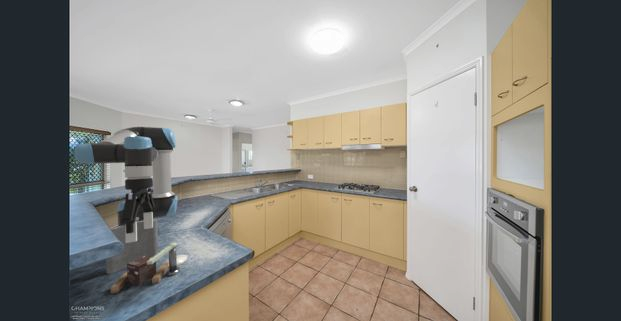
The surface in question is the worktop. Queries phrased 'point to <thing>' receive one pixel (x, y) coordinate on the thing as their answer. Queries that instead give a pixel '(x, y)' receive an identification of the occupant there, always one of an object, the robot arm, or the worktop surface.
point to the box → (140, 271)
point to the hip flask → (134, 246)
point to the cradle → (124, 280)
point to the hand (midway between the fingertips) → (140, 234)
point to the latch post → (172, 263)
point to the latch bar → (162, 253)
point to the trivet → (180, 260)
